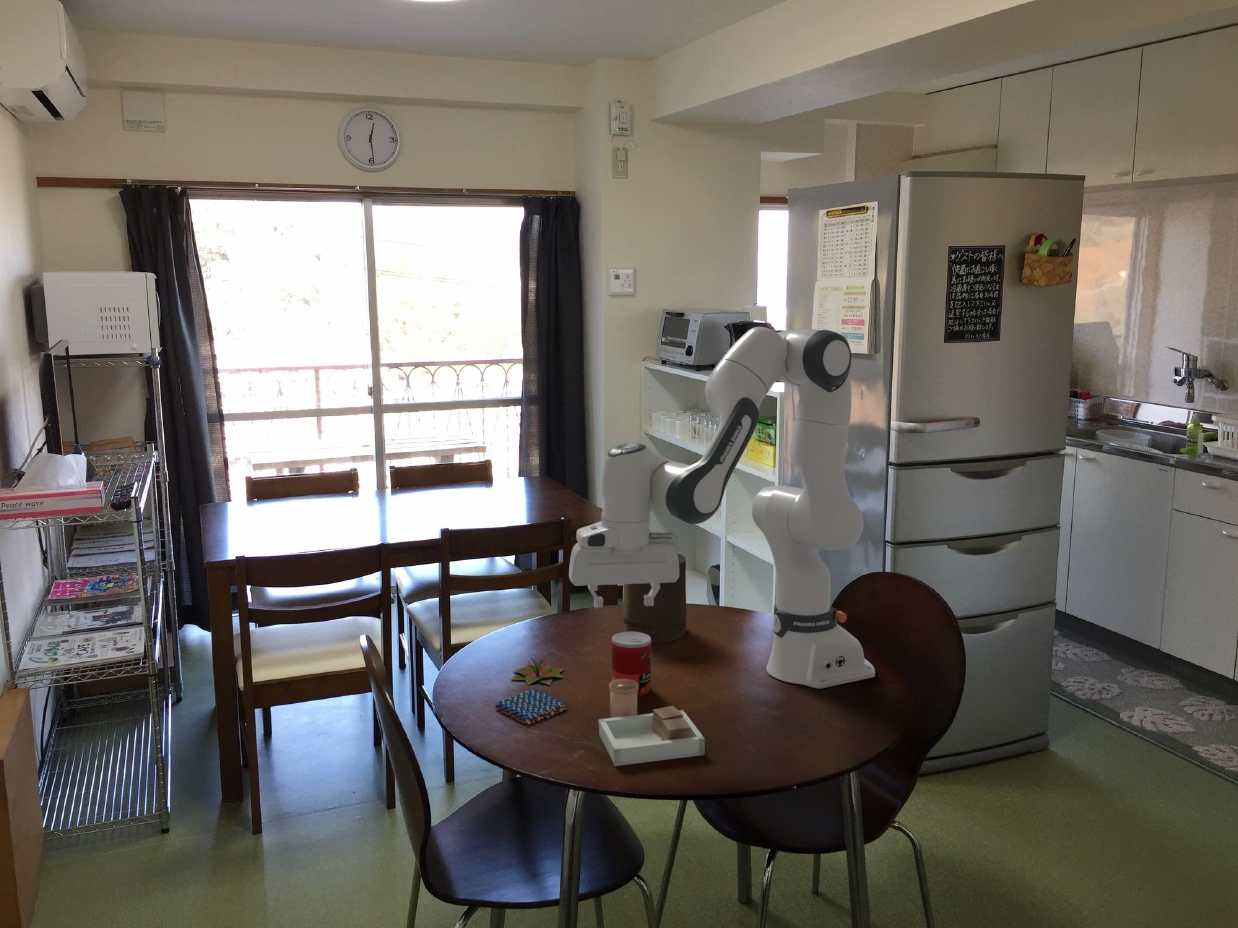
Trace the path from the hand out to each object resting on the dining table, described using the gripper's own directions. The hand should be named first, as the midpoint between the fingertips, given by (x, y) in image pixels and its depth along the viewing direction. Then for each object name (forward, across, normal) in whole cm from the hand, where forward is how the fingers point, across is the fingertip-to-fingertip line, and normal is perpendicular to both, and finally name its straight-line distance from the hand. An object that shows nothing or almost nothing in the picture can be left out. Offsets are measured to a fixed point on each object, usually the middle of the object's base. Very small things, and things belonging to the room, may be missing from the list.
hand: (623, 606), depth 178 cm
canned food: (+22, -5, -13) cm, 26 cm away
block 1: (+21, -7, +9) cm, 24 cm away
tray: (+22, -3, +12) cm, 25 cm away
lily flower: (+23, +13, -24) cm, 35 cm away
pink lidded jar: (+22, 0, +1) cm, 22 cm away
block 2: (+21, -7, +14) cm, 26 cm away
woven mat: (+23, +16, -7) cm, 29 cm away
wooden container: (+21, -17, -44) cm, 52 cm away
